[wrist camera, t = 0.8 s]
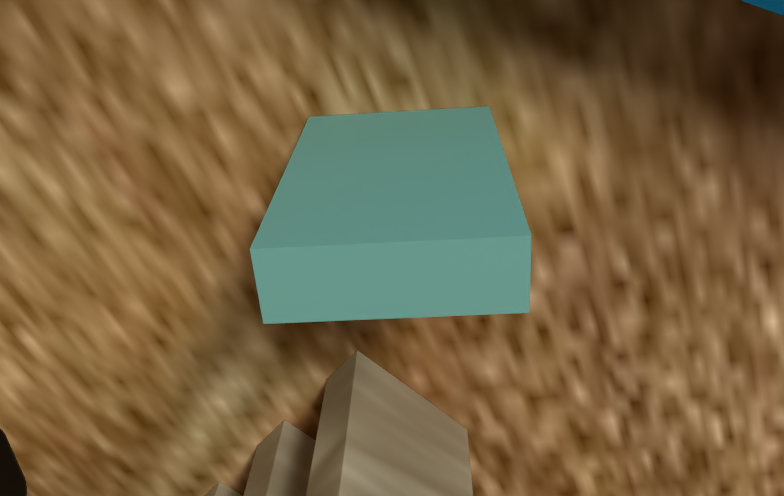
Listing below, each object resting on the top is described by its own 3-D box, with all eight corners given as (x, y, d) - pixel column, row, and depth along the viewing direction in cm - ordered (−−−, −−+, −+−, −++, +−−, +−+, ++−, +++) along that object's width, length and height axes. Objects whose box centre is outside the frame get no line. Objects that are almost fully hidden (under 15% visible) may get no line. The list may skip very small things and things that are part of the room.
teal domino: (489, 161, 20) (529, 312, 13) (315, 170, 21) (263, 324, 13) (489, 106, 20) (531, 235, 12) (309, 116, 20) (249, 249, 13)
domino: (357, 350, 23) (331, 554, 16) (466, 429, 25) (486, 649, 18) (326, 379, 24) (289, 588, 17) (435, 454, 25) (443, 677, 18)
